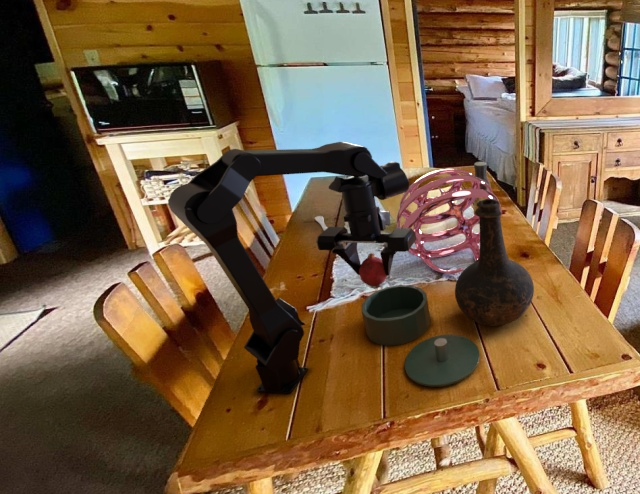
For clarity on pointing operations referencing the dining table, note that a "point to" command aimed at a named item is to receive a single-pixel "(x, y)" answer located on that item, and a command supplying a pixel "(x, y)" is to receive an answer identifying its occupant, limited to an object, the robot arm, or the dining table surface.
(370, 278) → the onion
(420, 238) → the pink openwork sphere
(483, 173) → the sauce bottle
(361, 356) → the dining table surface
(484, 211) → the glass bottle
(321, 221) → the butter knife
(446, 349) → the tin lid
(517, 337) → the dining table surface
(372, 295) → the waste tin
